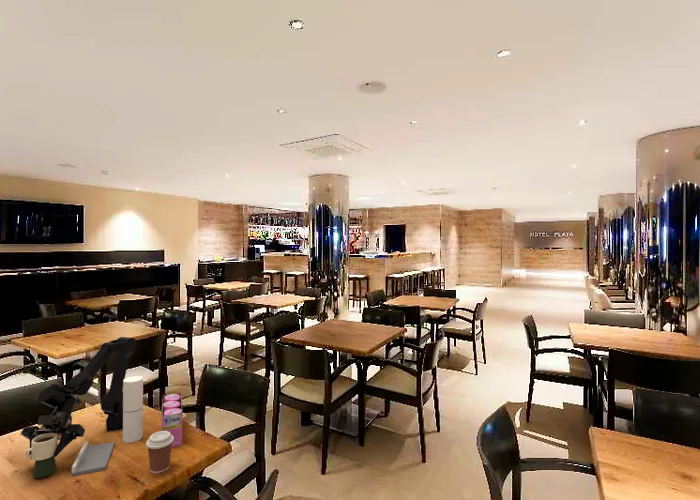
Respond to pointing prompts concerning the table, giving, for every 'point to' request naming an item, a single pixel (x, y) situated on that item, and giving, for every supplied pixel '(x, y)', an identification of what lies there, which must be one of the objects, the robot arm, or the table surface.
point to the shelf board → (92, 458)
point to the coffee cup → (159, 451)
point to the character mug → (43, 454)
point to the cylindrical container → (132, 409)
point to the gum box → (173, 417)
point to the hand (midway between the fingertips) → (42, 457)
